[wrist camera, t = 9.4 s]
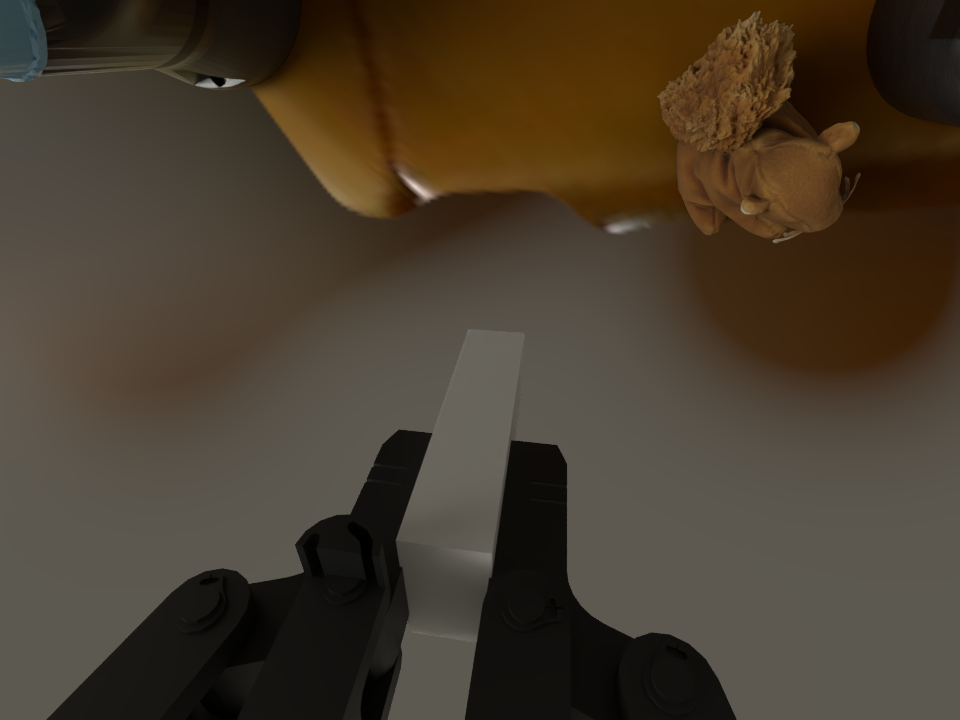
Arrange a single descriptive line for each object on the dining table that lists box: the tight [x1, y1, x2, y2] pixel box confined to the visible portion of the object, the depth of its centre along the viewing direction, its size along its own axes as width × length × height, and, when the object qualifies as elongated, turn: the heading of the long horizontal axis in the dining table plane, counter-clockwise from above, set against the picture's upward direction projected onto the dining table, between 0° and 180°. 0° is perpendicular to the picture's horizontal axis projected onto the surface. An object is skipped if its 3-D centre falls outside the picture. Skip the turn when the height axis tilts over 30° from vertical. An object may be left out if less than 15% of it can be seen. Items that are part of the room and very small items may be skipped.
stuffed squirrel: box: [657, 11, 861, 243], centre depth 32 cm, size 10×14×13 cm
